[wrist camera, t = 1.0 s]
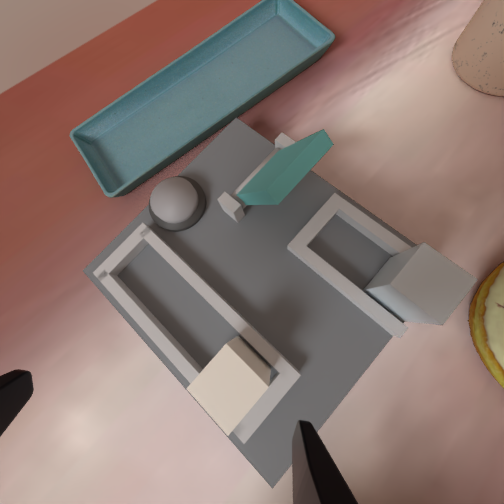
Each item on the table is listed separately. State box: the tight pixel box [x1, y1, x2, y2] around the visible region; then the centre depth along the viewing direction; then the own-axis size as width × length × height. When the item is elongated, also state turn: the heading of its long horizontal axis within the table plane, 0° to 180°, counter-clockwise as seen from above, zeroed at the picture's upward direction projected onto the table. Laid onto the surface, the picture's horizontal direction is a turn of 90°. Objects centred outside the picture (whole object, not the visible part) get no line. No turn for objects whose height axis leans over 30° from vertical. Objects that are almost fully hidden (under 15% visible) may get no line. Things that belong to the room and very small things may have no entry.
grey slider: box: [364, 242, 478, 325], centre depth 14 cm, size 3×3×4 cm
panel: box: [83, 118, 417, 489], centre depth 18 cm, size 20×18×4 cm
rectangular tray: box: [70, 0, 335, 198], centre depth 24 cm, size 26×9×2 cm, turn 126°
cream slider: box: [186, 336, 271, 436], centre depth 14 cm, size 3×3×4 cm
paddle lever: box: [230, 129, 334, 209], centre depth 16 cm, size 1×5×7 cm
